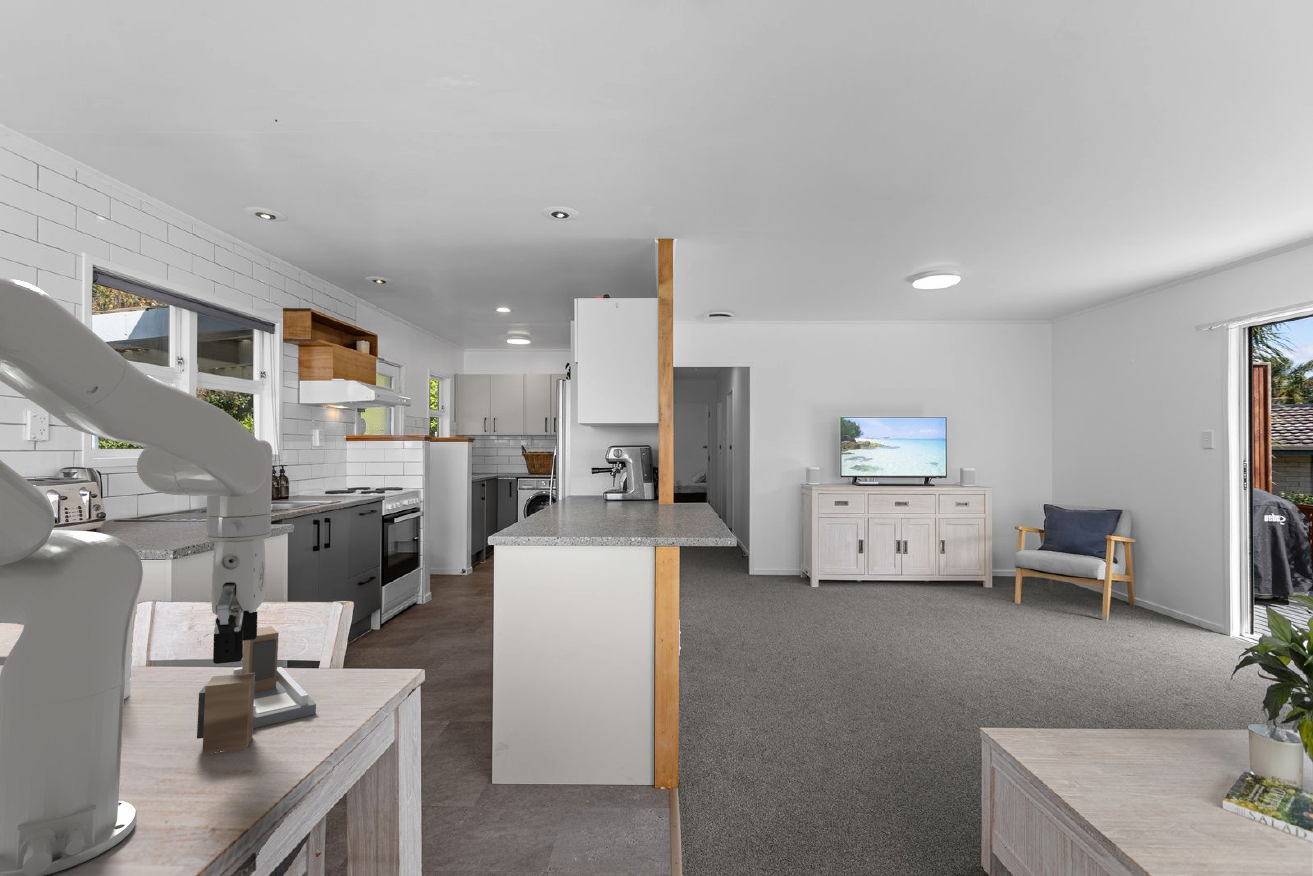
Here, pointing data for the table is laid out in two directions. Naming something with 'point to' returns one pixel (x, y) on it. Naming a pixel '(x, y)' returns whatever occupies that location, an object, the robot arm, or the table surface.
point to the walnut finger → (226, 713)
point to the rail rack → (272, 682)
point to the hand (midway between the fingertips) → (236, 650)
